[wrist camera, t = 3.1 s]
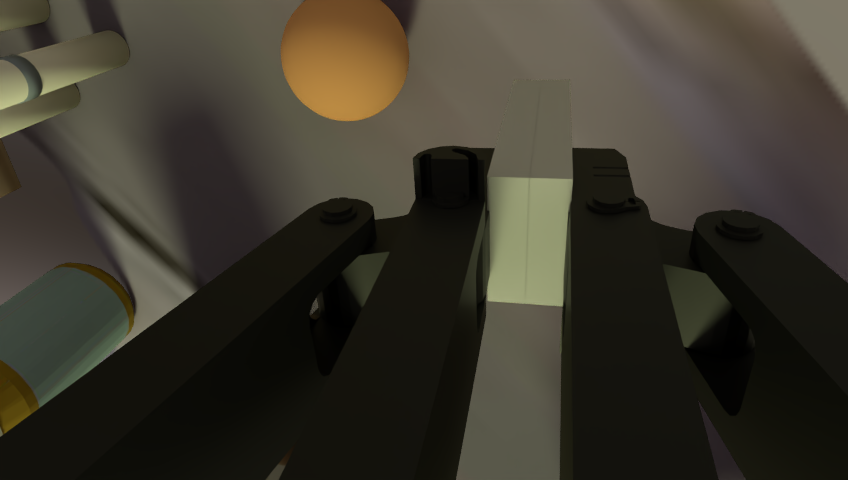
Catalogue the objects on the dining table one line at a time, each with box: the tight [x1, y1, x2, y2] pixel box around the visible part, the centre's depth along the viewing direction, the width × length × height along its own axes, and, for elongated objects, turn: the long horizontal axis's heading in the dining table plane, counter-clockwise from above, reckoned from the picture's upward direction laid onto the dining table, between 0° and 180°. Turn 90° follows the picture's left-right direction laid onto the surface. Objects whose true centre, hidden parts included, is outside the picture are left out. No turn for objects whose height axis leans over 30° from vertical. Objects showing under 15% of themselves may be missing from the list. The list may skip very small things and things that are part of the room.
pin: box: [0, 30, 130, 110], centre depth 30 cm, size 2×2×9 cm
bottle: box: [0, 263, 134, 437], centre depth 37 cm, size 7×7×15 cm
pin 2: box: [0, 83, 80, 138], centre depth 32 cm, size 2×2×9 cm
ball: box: [281, 0, 409, 121], centre depth 28 cm, size 6×6×6 cm
